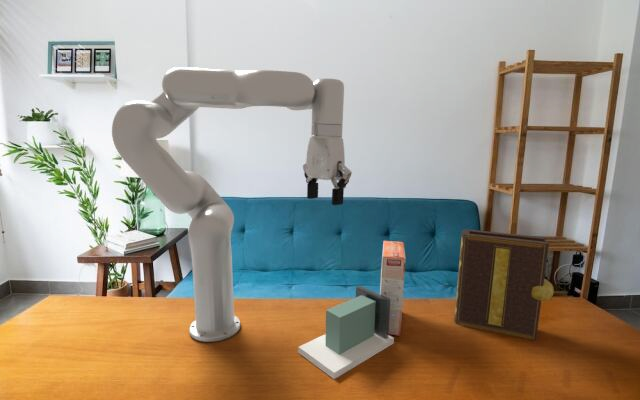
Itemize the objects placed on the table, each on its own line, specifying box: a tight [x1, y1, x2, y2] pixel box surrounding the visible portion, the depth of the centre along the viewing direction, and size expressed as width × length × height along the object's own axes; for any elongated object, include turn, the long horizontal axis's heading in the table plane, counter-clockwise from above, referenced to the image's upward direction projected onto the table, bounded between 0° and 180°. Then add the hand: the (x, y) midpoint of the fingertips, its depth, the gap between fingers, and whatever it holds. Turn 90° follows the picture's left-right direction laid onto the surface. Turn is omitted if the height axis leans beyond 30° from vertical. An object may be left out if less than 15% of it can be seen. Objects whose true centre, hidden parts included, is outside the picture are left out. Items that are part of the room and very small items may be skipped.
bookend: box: [355, 285, 390, 339], centre depth 90 cm, size 10×1×10 cm, turn 41°
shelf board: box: [297, 333, 395, 380], centre depth 85 cm, size 12×20×2 cm, turn 131°
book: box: [453, 229, 554, 341], centre depth 93 cm, size 22×8×25 cm, turn 68°
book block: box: [325, 295, 376, 355], centre depth 85 cm, size 4×12×9 cm, turn 132°
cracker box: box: [379, 240, 406, 337], centre depth 96 cm, size 14×6×21 cm, turn 169°
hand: (324, 201), depth 91 cm, fingers open, 9 cm apart
